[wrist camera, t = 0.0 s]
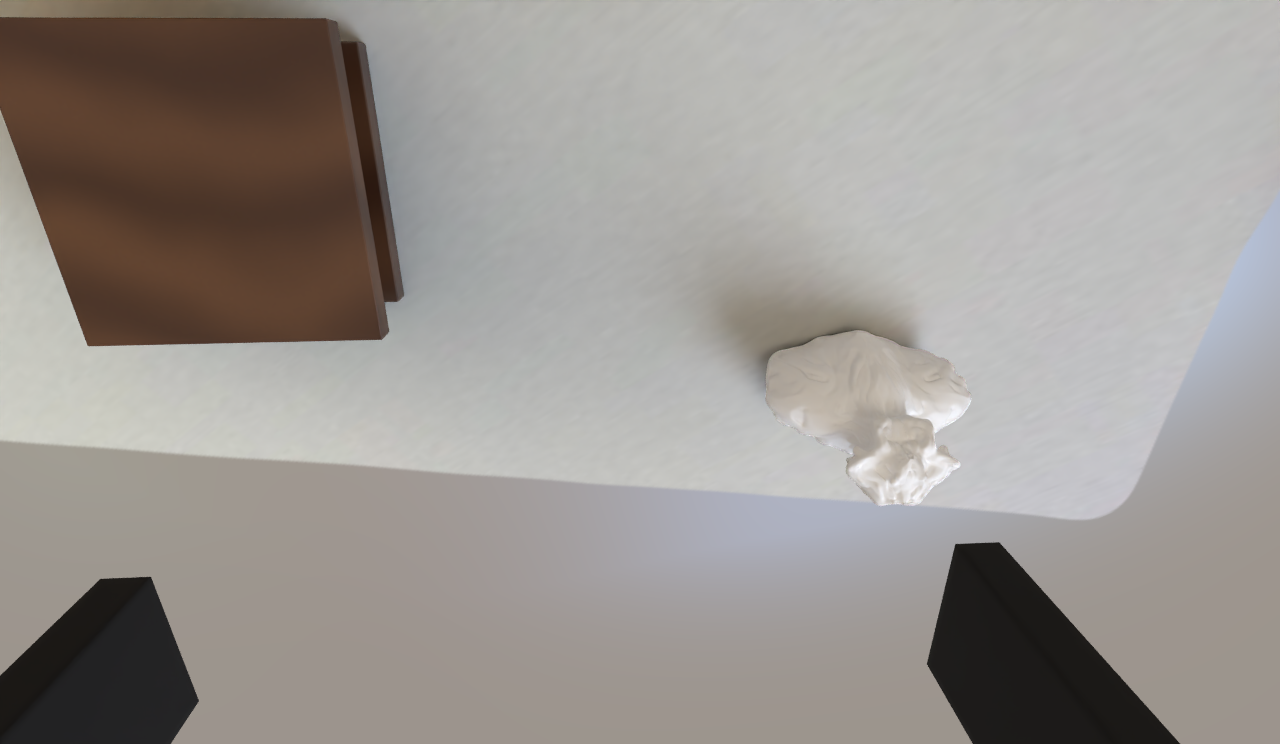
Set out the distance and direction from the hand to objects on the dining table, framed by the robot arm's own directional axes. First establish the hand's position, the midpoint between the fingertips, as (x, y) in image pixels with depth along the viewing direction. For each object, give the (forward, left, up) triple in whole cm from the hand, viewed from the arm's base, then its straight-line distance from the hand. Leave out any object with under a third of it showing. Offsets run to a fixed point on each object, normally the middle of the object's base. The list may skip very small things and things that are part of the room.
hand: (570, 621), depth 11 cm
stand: (-4, -17, -28) cm, 33 cm away
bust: (+8, +16, -28) cm, 33 cm away
